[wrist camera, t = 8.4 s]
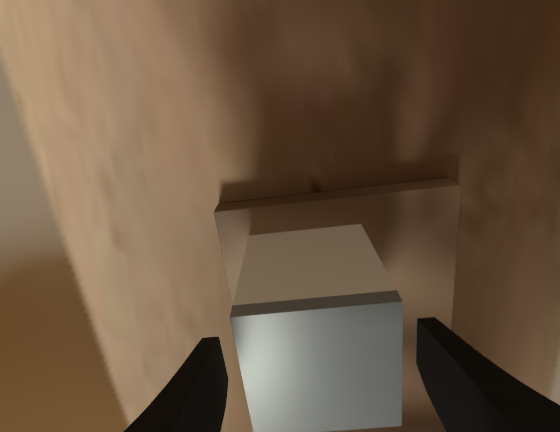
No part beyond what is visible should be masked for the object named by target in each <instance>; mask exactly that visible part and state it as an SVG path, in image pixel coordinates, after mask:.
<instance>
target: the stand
mask: <svg viewBox="0 0 560 432" xmlns="http://www.w3.org/2000/svg"><path fill="white" fill-rule="evenodd" d="M460 197H461V184H459V183H458V182H456V181H454V180H452V179H451V178H441V179H433V180H424V181H415V182H406V183H397V184H388V185H379V186H370V187H361V188H352V189H343V190H335V191H326V192H317V193H308V194H299V195H290V196H281V197H272V198H263V199H254V200H246V201H237V202H228V203H219V204H218V205H217V207H216V209H215V211H214V216H215V221H216V226H217V231H218V235H219V240H220V245H221V250H222V255H223V260H224V265H225V270H226V275H227V280H228V285H229V290H230V295H231V300H232V304H233V302H234V297H235V293H236V289H237V284H238V280H239V275H240V271H241V267H242V262H243V258H244V254H245V249H246V245H247V240H248V236H249V235H259V234H268V233H278V232H288V231H297V230H307V229H317V228H326V227H336V226H345V225H355V224H361V225H362V227H363V228H364V230H365V232H366V234H367V236H368V238H369V240H370V241H371V243H372V245H373V247H374V249H375V251H376V253H377V254H378V256H379V258H380V260H381V262H382V264H383V266H384V267H385V269H386V271H387V273H388V275H389V277H390V279H391V280H392V282H393V284H394V286H395V288H396V290H397V291H398V293H399V295H400V297H401V299H402V301H403V337H402V426H395V427H381V428H368V429H354V430H340V431H327V432H444V426H443V424H442V422H441V420H440V418H439V416H438V414H437V412H436V410H435V408H434V406H433V404H432V402H431V400H430V398H429V396H428V394H427V392H426V389H425V387H424V384H423V381H422V379H421V376H420V373H419V370H418V367H417V364H416V346H417V318H428V317H435V318H437V319H438V320H439V321H440V322H442V323H443V324H444V325H445V326H446V327H448V328H449V329H450V330H451V327H452V313H453V298H454V284H455V269H456V255H457V241H458V226H459V212H460Z"/></svg>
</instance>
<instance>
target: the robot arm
mask: <svg viewBox="0 0 560 432" xmlns="http://www.w3.org/2000/svg"><path fill="white" fill-rule="evenodd" d="M416 364H417V367H418V370H419V373H420V376H421V379H422V381H423V384H424V387H425V389H426V392H427V394H428V396H429V398H430V400H431V402H432V404H433V406H434V408H435V410H436V412H437V414H438V416H439V418H440V420H441V422H442V424H443V426H444V428H445V430H446V432H560V405H558V404H557V403H555V402H553V401H551V400H550V399H548V398H546V397H545V396H543V395H541V394H540V393H538V392H536V391H535V390H533V389H531V388H530V387H528V386H526V385H525V384H523V383H522V382H520V381H519V380H517V379H516V378H514V377H513V376H511V375H510V374H508V373H507V372H505V371H504V370H502V369H501V368H500V367H498V366H497V365H495V364H494V363H493V362H491V361H490V360H488V359H487V358H486V357H484V356H483V355H482V354H480V353H479V352H478V351H476V350H475V349H474V348H473V347H471V346H470V345H469V344H467V343H466V342H465V341H464V340H462V339H461V338H460V337H459V336H457V335H456V334H455V333H454V332H453V331H451V330H450V329H449V328H448V327H446V326H445V325H444V324H443V323H442V322H440V321H439V320H438V319H437V318H435V317H428V318H417V346H416ZM227 388H228V376H227V371H226V367H225V362H224V358H223V354H222V349H221V345H220V340H219V337H209V338H202V339H201V340H200V342H199V343H198V344H197V346H196V347H195V348H194V350H193V351H192V352H191V354H190V355H189V357H188V358H187V359H186V361H185V362H184V363H183V365H182V366H181V367H180V369H179V370H178V371H177V372H176V374H175V375H174V376H173V377H172V379H171V380H170V381H169V383H168V384H167V385H166V386H165V387H164V389H163V390H162V391H161V392H160V393H159V394H158V396H157V397H156V398H155V399H154V400H153V401H152V403H151V404H150V405H149V406H148V407H147V408H146V409H145V410H144V411H143V412H142V414H141V415H140V416H139V417H138V418H137V419H136V420H135V421H134V422H133V423H132V424H131V425H130V426H129V427H128V428H127V429H126V430H125V431H124V432H220V431H221V426H222V421H223V417H224V412H225V407H226V398H227Z"/></svg>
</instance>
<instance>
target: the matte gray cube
mask: <svg viewBox="0 0 560 432" xmlns="http://www.w3.org/2000/svg"><path fill="white" fill-rule="evenodd" d="M230 320H231V325H232V330H233V335H234V340H235V345H236V349H237V354H238V359H239V364H240V369H241V374H242V379H243V383H244V388H245V393H246V398H247V403H248V408H249V413H250V417H251V422H252V427H253V432H327V431H340V430H354V429H368V428H381V427H395V426H402V337H403V301H402V299H401V297H400V295H399V293H398V291H397V290H396V288H395V286H394V284H393V282H392V280H391V279H390V277H389V275H388V273H387V271H386V269H385V267H384V266H383V264H382V262H381V260H380V258H379V256H378V254H377V253H376V251H375V249H374V247H373V245H372V243H371V241H370V240H369V238H368V236H367V234H366V232H365V230H364V228H363V227H362V225H361V224H355V225H345V226H336V227H326V228H317V229H307V230H297V231H288V232H278V233H268V234H259V235H249V236H248V240H247V245H246V249H245V254H244V258H243V262H242V267H241V271H240V275H239V280H238V284H237V289H236V293H235V297H234V302H233V306H232V310H231V315H230Z"/></svg>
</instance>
